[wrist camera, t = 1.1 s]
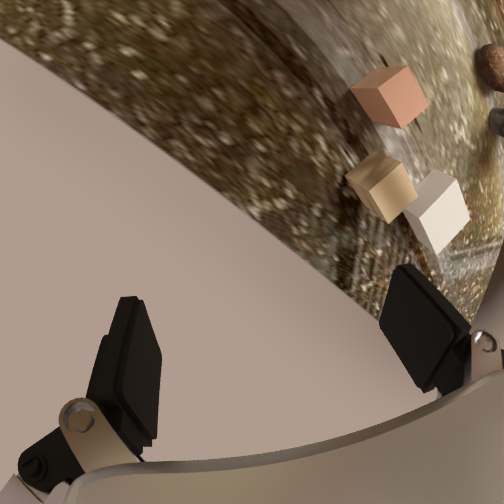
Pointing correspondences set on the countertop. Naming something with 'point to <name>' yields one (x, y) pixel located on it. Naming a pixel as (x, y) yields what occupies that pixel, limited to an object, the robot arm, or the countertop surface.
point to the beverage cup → (497, 121)
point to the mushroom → (492, 66)
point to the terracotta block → (390, 96)
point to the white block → (437, 211)
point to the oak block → (382, 185)
